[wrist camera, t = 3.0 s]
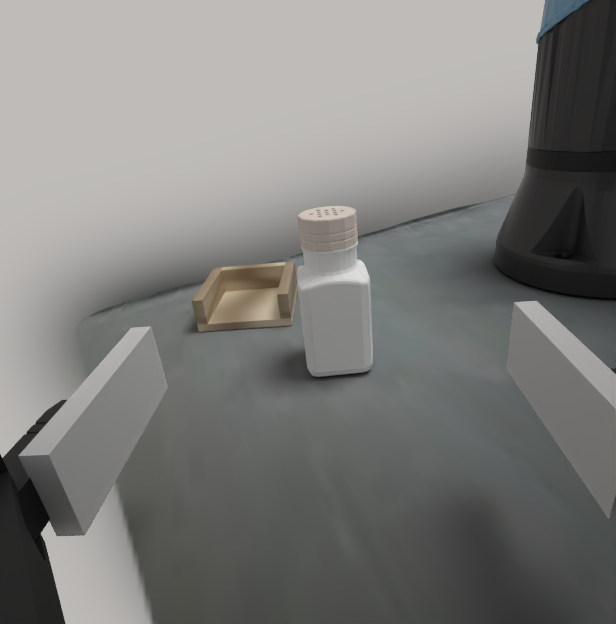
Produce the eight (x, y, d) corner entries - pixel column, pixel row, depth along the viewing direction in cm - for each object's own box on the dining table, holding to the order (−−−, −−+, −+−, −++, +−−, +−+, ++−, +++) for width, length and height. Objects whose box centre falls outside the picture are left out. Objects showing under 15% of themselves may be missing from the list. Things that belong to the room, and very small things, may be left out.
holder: (297, 288, 40) (294, 261, 38) (291, 325, 33) (287, 293, 32) (219, 294, 40) (214, 267, 39) (198, 331, 34) (191, 300, 32)
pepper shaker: (308, 382, 26) (290, 225, 22) (306, 348, 30) (290, 208, 26) (375, 375, 26) (369, 217, 22) (364, 342, 30) (358, 201, 26)
